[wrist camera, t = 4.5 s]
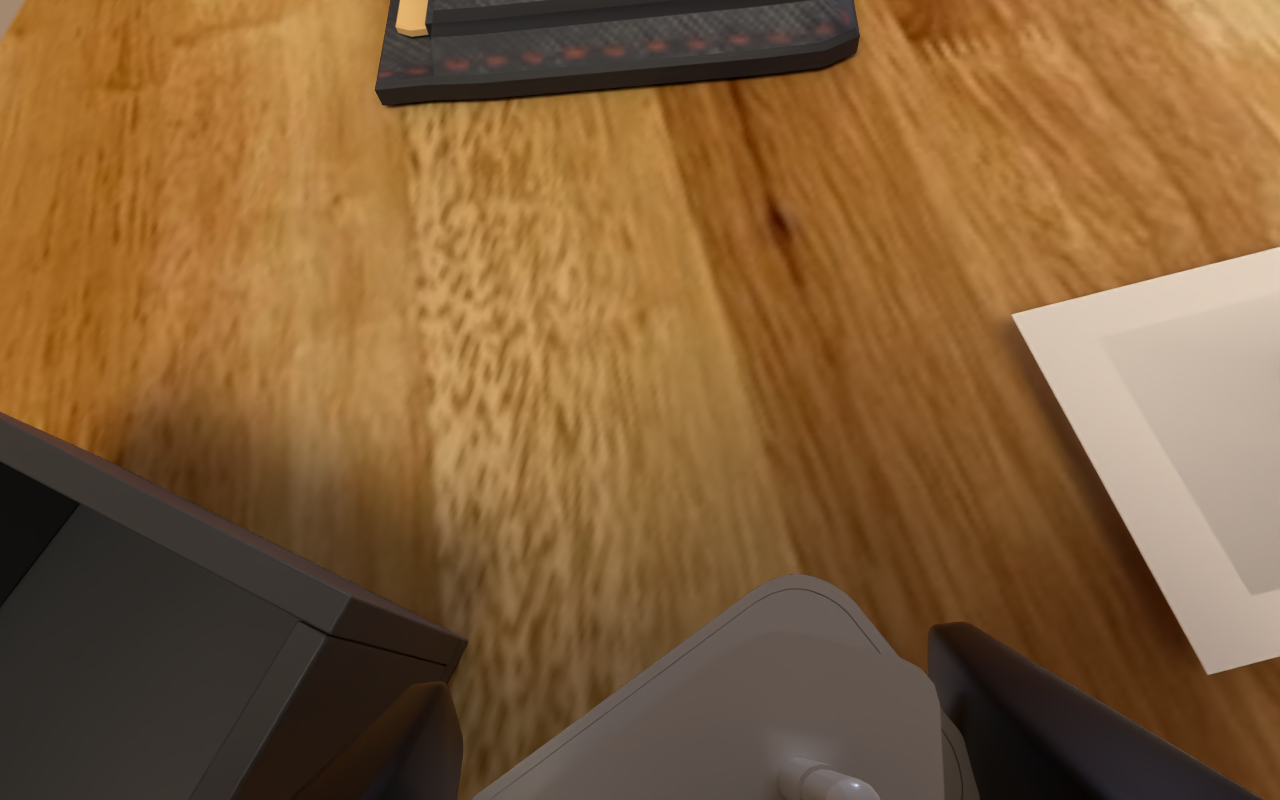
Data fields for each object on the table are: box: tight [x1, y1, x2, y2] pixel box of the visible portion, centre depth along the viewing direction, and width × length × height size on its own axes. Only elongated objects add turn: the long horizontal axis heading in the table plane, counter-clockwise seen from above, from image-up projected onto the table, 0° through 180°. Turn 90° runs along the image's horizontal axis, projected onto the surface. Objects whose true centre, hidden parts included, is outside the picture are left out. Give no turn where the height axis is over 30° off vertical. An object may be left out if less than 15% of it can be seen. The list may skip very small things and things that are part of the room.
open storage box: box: [0, 412, 468, 800], centre depth 12 cm, size 11×11×6 cm
